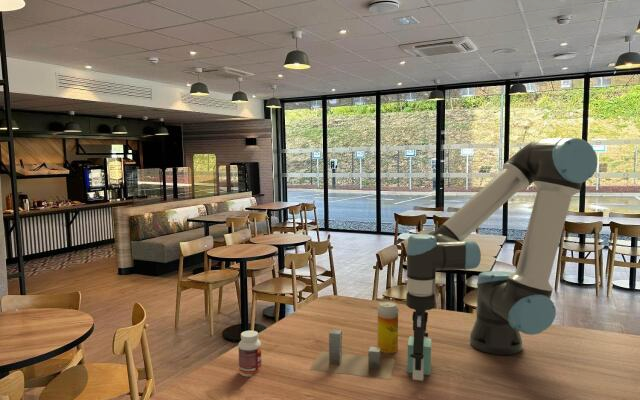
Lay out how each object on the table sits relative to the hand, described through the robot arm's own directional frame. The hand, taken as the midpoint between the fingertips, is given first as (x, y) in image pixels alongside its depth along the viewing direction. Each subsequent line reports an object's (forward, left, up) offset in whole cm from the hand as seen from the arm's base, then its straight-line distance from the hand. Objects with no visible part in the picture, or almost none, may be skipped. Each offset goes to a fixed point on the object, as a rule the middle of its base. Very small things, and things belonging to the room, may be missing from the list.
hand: (419, 369), depth 128 cm
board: (+18, +2, -1) cm, 18 cm away
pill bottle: (+45, +11, -1) cm, 46 cm away
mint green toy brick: (0, 0, -1) cm, 1 cm away
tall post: (+23, +2, 0) cm, 23 cm away
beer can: (+10, -11, -1) cm, 15 cm away
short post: (+12, +2, 0) cm, 12 cm away
